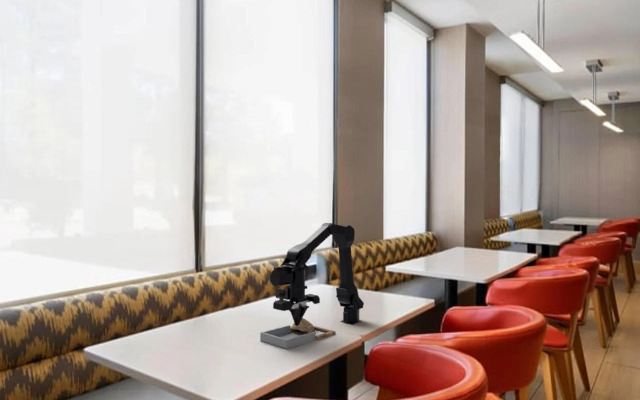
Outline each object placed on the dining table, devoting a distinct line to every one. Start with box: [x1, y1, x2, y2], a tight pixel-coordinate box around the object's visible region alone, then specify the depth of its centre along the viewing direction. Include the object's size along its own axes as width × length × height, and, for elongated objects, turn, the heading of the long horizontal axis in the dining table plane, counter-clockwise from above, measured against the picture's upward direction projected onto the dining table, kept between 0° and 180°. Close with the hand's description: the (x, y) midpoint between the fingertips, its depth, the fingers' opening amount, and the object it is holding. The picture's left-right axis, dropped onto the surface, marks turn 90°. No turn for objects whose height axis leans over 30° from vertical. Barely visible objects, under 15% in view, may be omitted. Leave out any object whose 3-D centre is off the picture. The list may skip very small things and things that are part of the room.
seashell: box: [291, 317, 315, 334], centre depth 186 cm, size 8×6×8 cm
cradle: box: [291, 325, 336, 341], centre depth 185 cm, size 9×16×2 cm, turn 46°
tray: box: [259, 324, 317, 350], centre depth 176 cm, size 14×14×3 cm
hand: (297, 325), depth 179 cm, fingers closed
